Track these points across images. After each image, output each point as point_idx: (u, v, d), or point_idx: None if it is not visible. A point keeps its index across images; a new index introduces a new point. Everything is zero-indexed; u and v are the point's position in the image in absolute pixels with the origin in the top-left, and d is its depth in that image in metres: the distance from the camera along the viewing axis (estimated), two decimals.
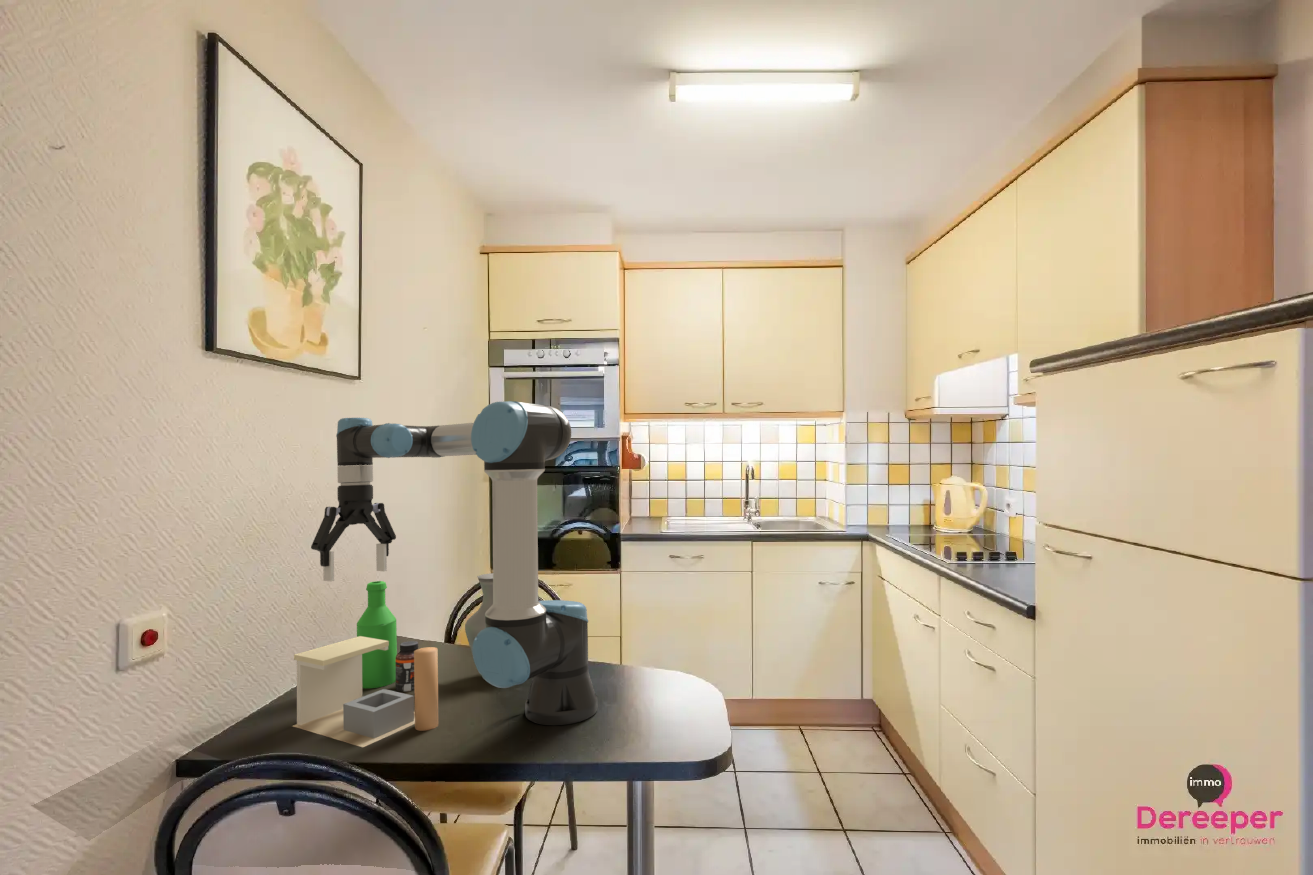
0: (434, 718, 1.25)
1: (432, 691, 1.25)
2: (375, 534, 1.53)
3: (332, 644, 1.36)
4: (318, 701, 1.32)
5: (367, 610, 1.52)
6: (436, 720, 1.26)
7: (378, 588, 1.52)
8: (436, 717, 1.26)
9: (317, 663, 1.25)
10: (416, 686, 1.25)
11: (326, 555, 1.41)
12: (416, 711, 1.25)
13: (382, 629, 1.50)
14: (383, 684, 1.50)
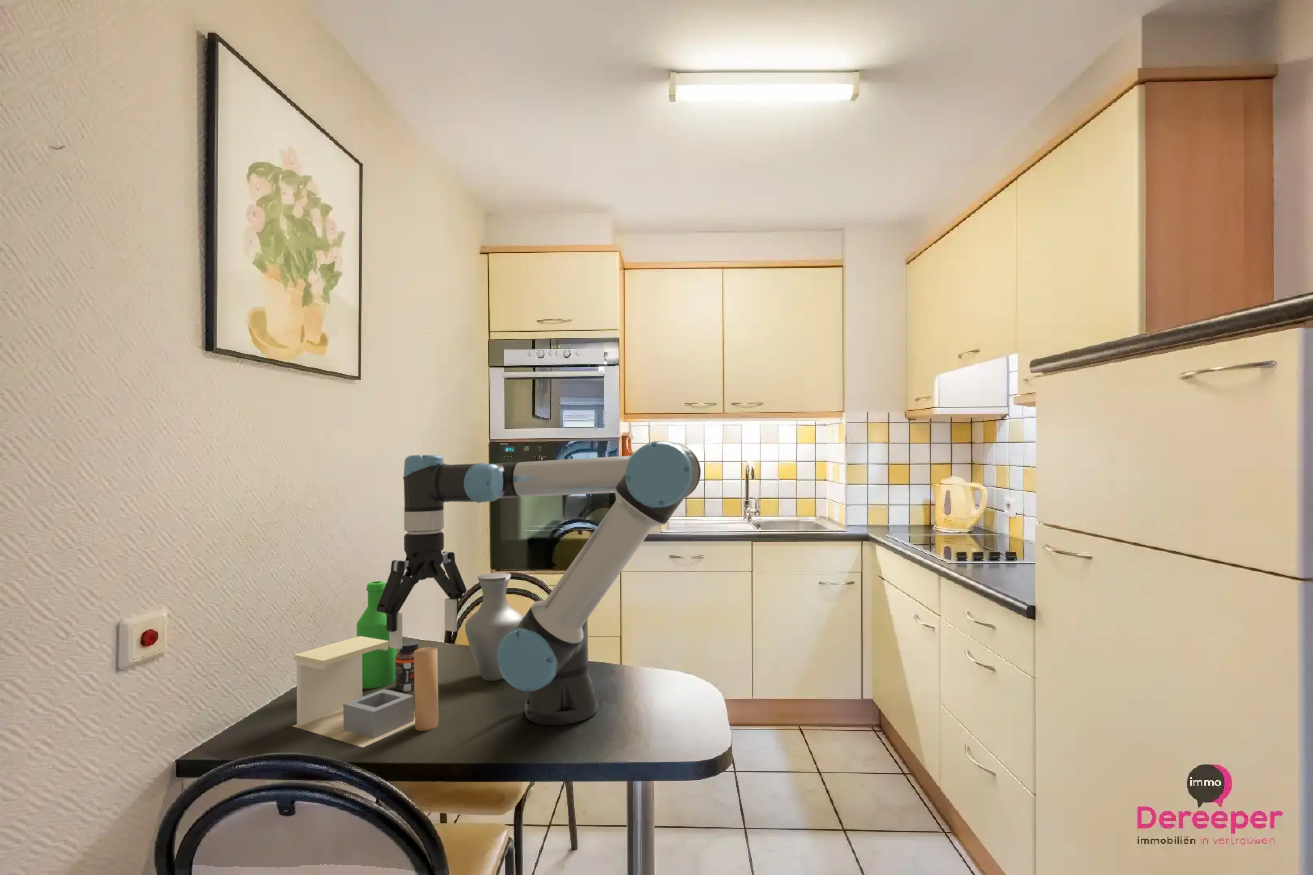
0: (434, 718, 1.25)
1: (431, 691, 1.25)
2: (445, 588, 1.32)
3: (332, 644, 1.36)
4: (318, 701, 1.32)
5: (367, 610, 1.52)
6: (436, 720, 1.26)
7: (378, 588, 1.52)
8: (436, 717, 1.26)
9: (317, 663, 1.25)
10: (416, 686, 1.25)
11: (393, 618, 1.20)
12: (416, 711, 1.25)
13: (382, 629, 1.50)
14: (383, 684, 1.50)
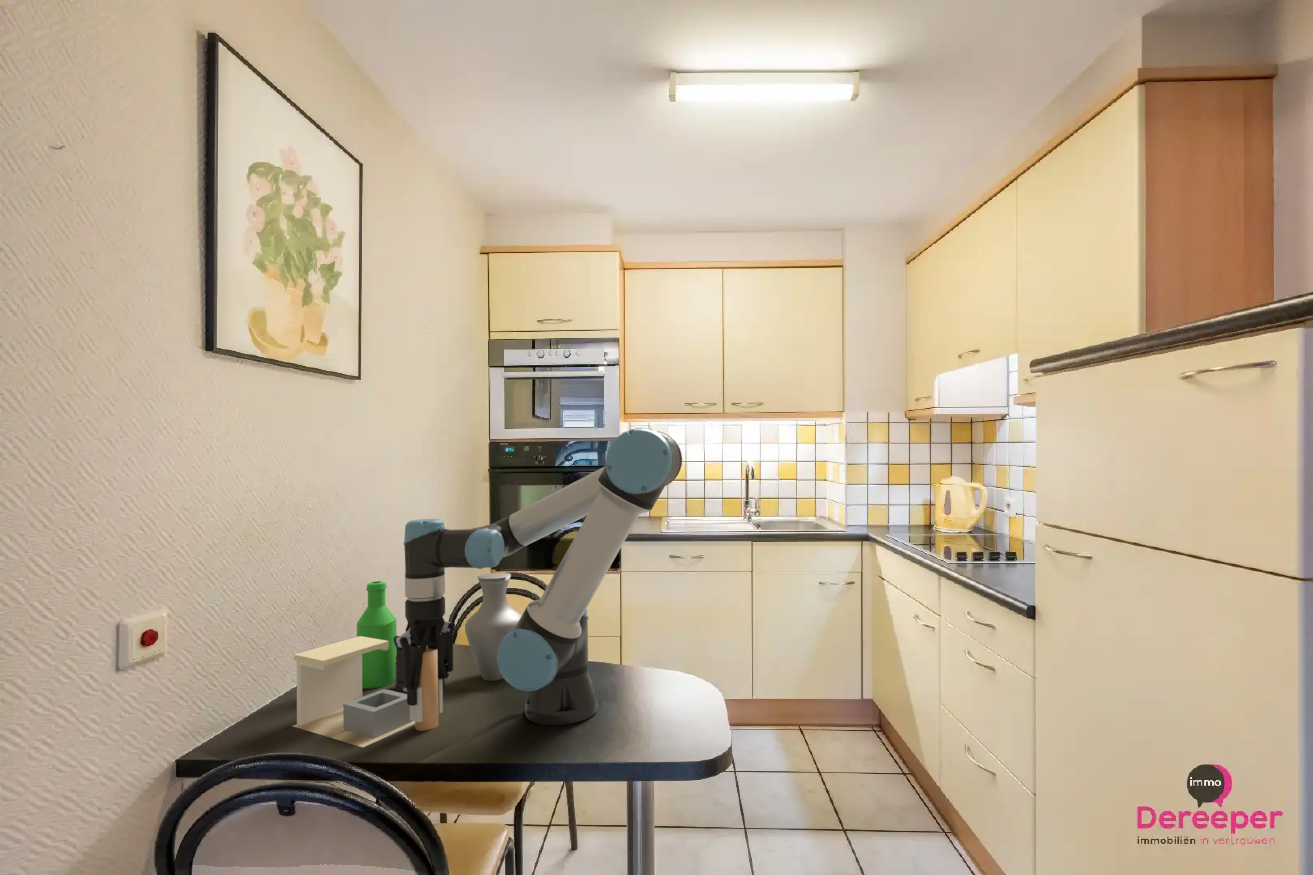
0: (434, 718, 1.25)
1: (431, 691, 1.25)
2: None
3: (332, 644, 1.36)
4: (318, 701, 1.32)
5: (367, 610, 1.52)
6: (436, 720, 1.26)
7: (378, 588, 1.52)
8: (436, 717, 1.26)
9: (317, 663, 1.25)
10: None
11: (414, 692, 1.23)
12: None
13: (382, 629, 1.50)
14: (383, 684, 1.50)
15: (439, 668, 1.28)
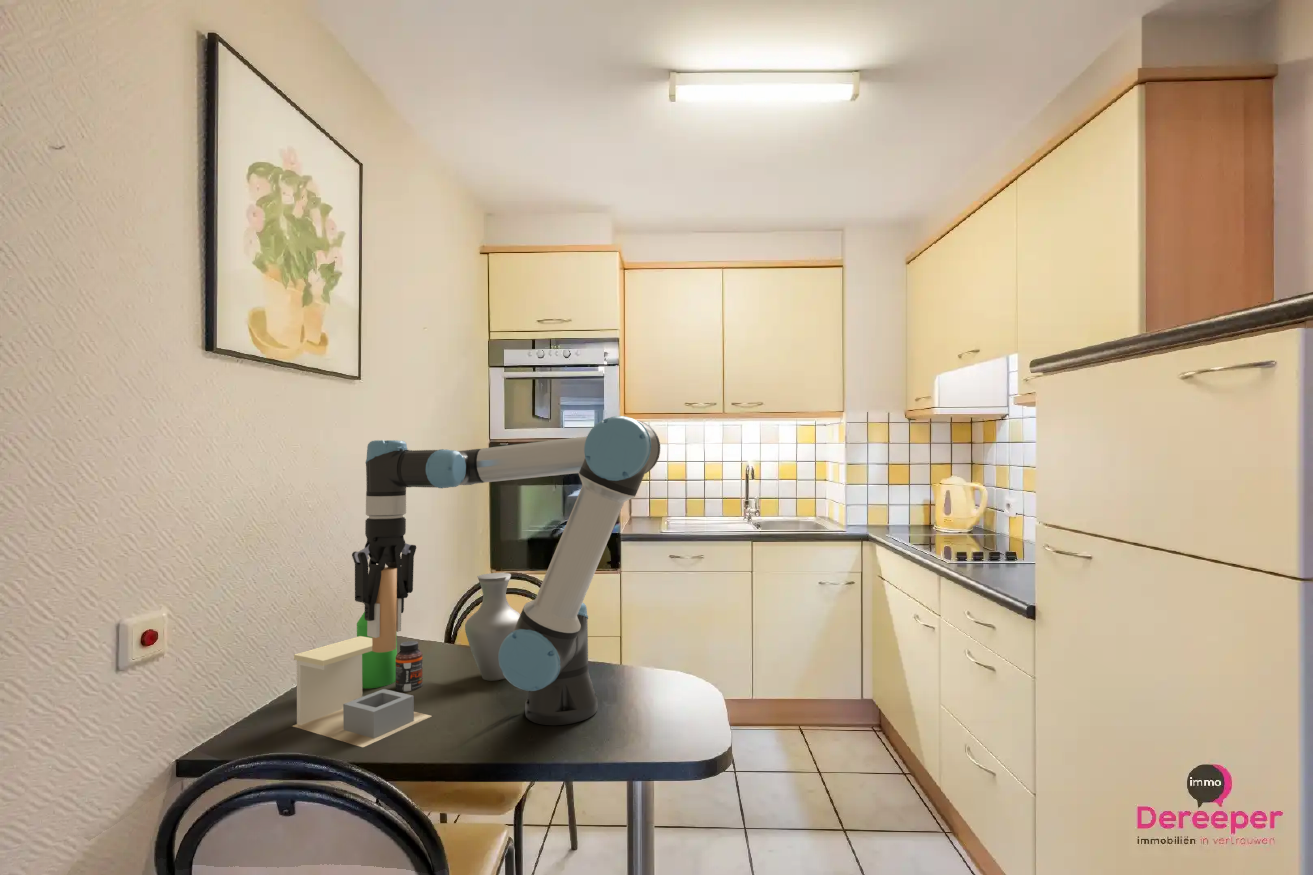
0: (392, 635, 1.27)
1: (389, 608, 1.27)
2: None
3: (332, 644, 1.36)
4: (318, 701, 1.32)
5: None
6: (393, 637, 1.27)
7: None
8: (393, 634, 1.27)
9: (317, 663, 1.25)
10: None
11: (371, 608, 1.25)
12: None
13: None
14: (383, 684, 1.50)
15: (398, 588, 1.30)
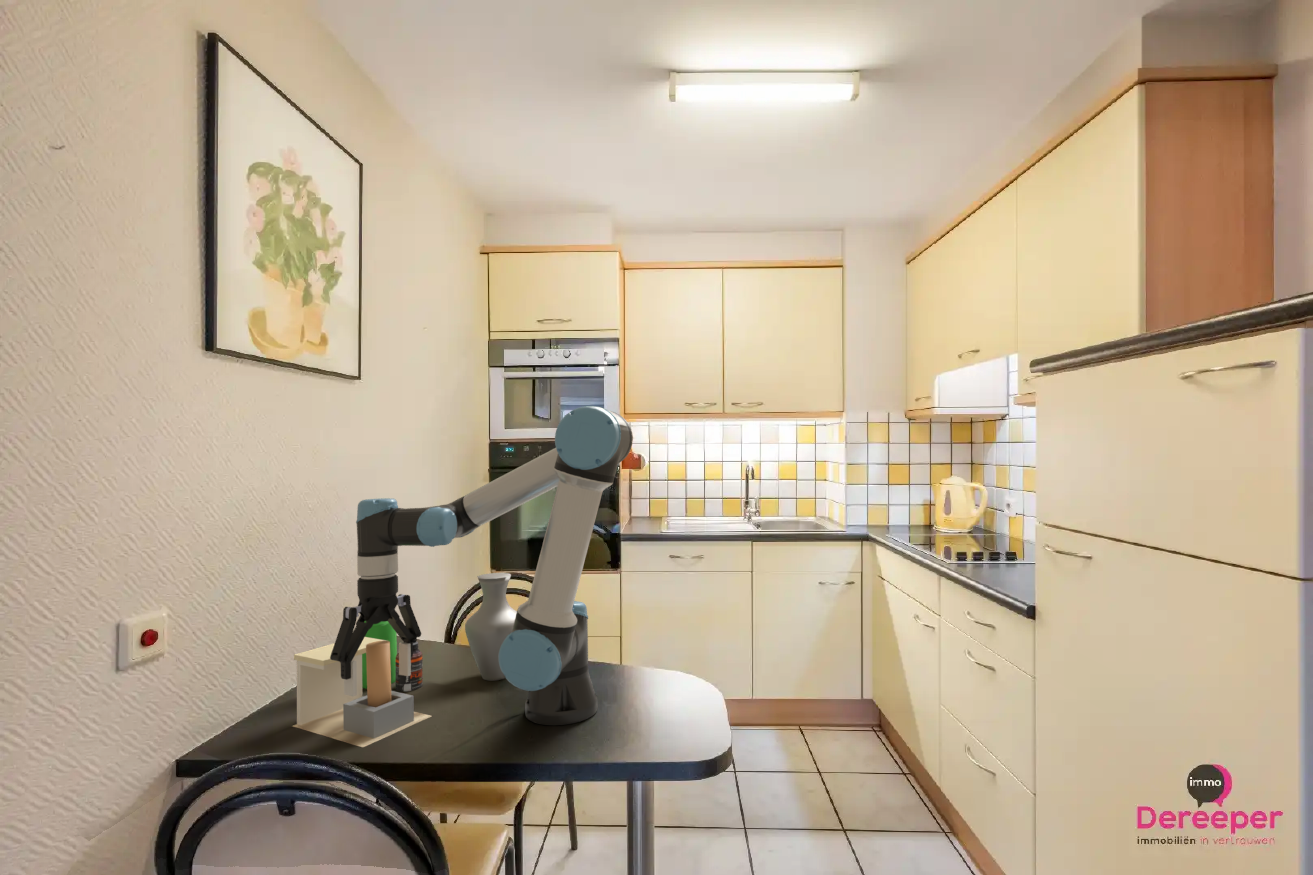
0: None
1: (384, 684, 1.26)
2: (399, 632, 1.32)
3: (332, 644, 1.36)
4: (318, 701, 1.32)
5: None
6: None
7: None
8: None
9: (317, 663, 1.25)
10: (368, 679, 1.26)
11: (347, 665, 1.21)
12: (369, 704, 1.26)
13: (382, 629, 1.50)
14: None
15: (405, 636, 1.32)
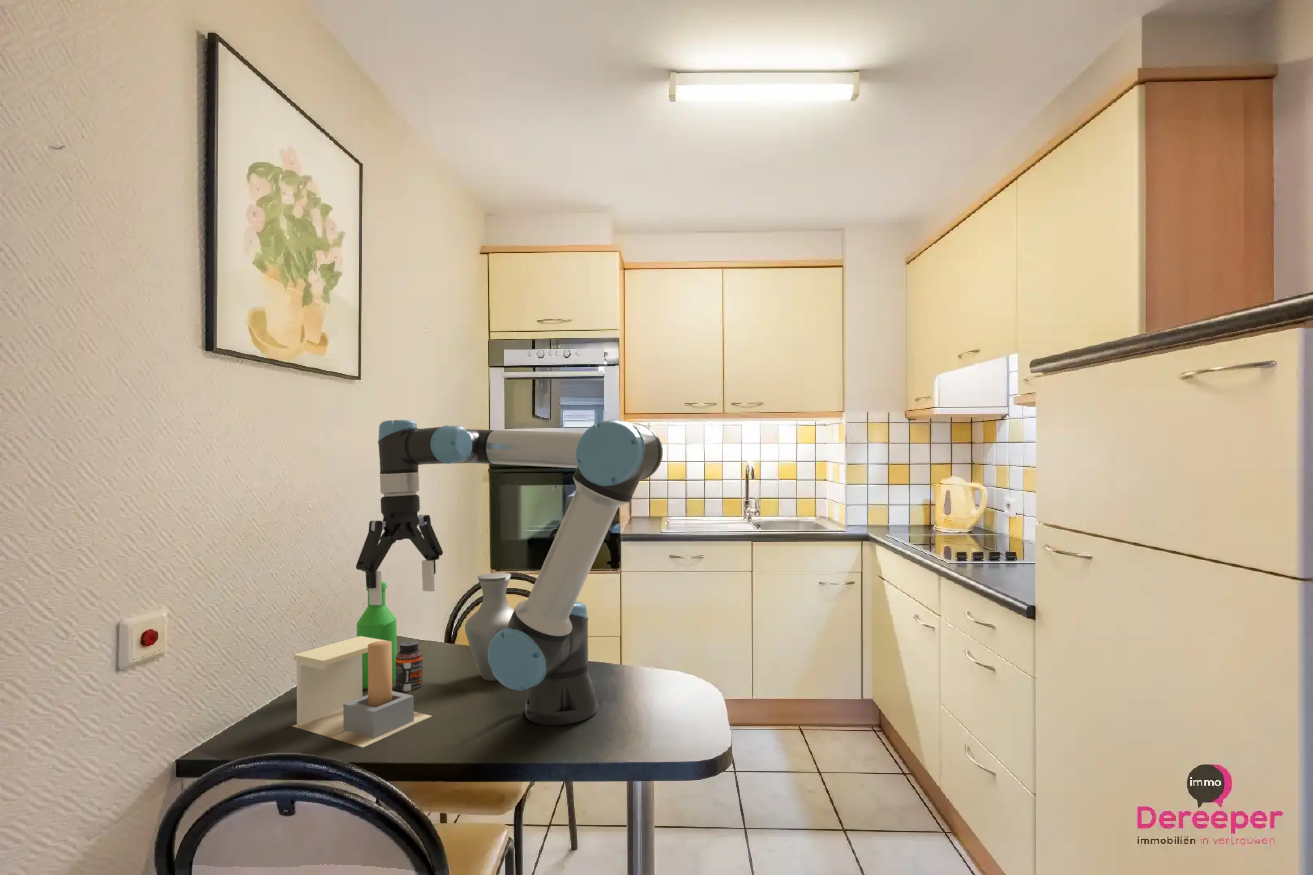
0: None
1: (385, 684, 1.26)
2: (421, 550, 1.37)
3: (332, 644, 1.36)
4: (318, 701, 1.32)
5: (367, 610, 1.52)
6: None
7: None
8: None
9: (317, 663, 1.25)
10: (369, 679, 1.26)
11: (372, 575, 1.25)
12: (369, 704, 1.26)
13: (382, 629, 1.50)
14: None
15: (428, 553, 1.37)
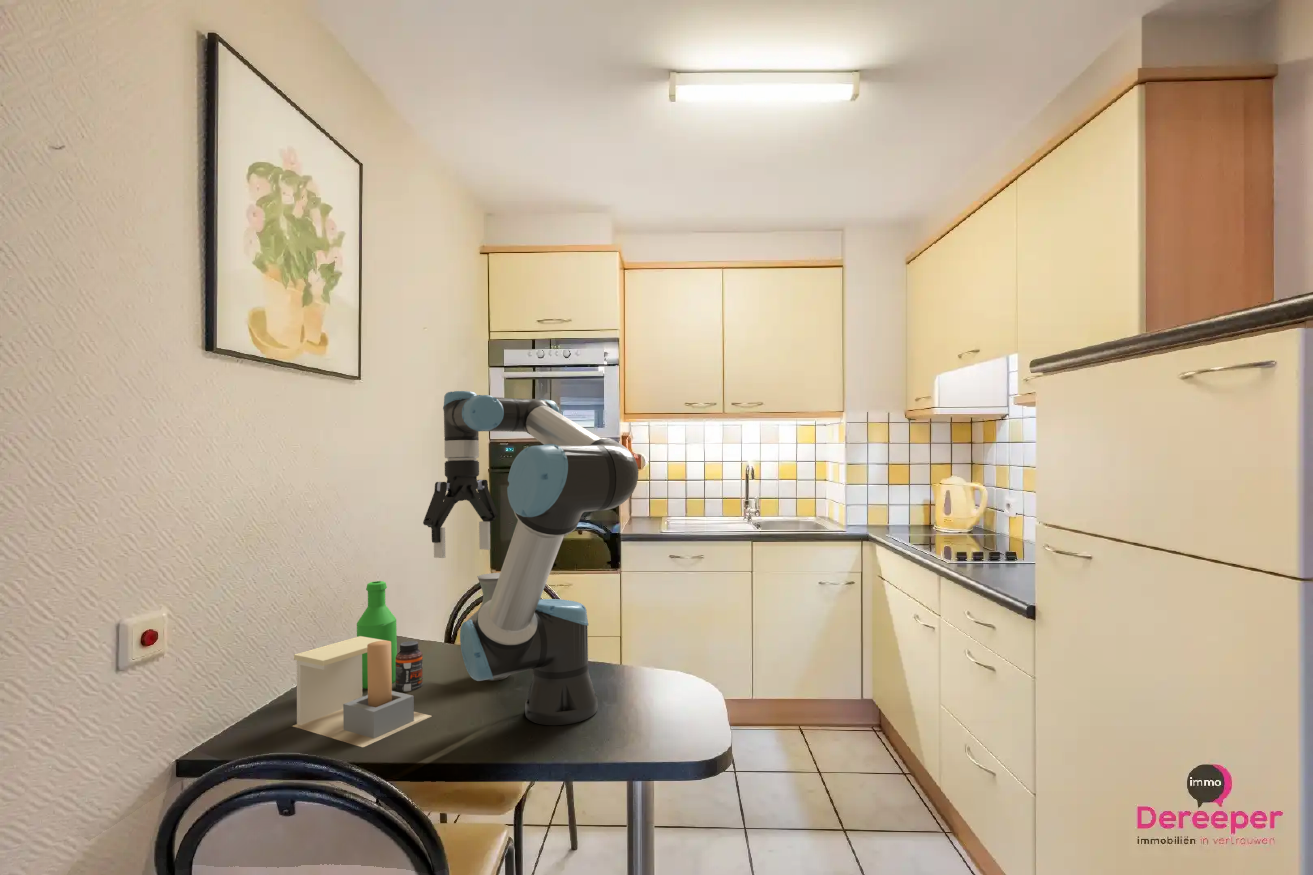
0: None
1: (384, 684, 1.26)
2: (479, 511, 1.50)
3: (332, 644, 1.36)
4: (318, 701, 1.32)
5: (367, 610, 1.52)
6: None
7: (378, 588, 1.52)
8: None
9: (317, 663, 1.25)
10: (369, 679, 1.26)
11: (437, 531, 1.37)
12: (369, 704, 1.26)
13: (382, 629, 1.50)
14: None
15: (485, 515, 1.50)
